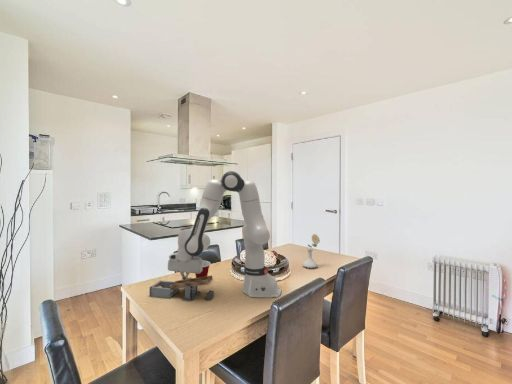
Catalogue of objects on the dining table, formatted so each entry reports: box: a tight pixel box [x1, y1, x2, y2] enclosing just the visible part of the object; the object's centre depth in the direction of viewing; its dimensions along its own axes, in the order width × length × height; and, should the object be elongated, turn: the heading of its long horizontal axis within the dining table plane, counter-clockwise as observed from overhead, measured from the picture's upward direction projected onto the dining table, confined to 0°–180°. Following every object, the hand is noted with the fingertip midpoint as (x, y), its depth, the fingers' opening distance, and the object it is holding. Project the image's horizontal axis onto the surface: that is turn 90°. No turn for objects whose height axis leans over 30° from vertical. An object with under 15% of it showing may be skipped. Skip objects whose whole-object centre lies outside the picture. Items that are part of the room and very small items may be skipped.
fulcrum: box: [181, 285, 202, 302], centre depth 139 cm, size 6×11×8 cm, turn 169°
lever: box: [170, 275, 213, 290], centre depth 142 cm, size 22×14×2 cm, turn 79°
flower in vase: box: [301, 233, 320, 269], centre depth 192 cm, size 13×11×25 cm
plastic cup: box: [194, 259, 211, 278], centre depth 160 cm, size 11×11×12 cm
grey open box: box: [149, 280, 180, 299], centre depth 142 cm, size 12×10×5 cm
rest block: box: [205, 289, 215, 301], centre depth 137 cm, size 2×5×3 cm, turn 169°
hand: (184, 279), depth 147 cm, fingers closed
